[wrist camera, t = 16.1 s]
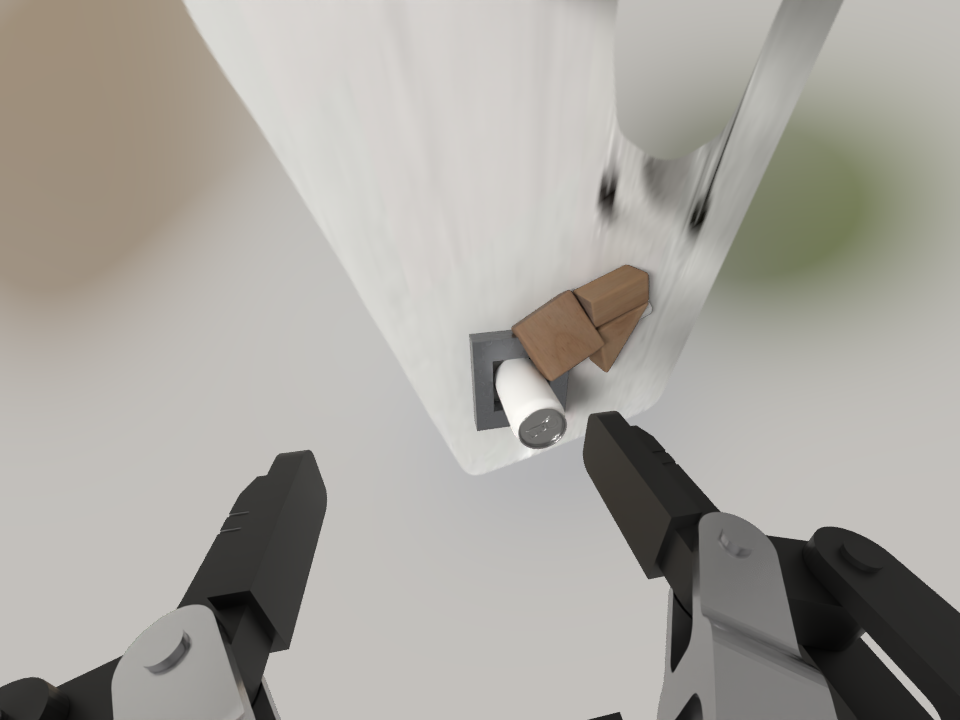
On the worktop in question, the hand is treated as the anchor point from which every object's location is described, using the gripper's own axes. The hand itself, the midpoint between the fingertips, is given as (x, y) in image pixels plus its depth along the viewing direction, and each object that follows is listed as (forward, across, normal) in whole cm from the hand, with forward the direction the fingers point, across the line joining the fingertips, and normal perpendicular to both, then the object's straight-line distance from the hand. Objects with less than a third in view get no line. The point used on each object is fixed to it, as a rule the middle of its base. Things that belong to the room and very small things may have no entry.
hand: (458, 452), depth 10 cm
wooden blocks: (+33, -19, +12) cm, 40 cm away
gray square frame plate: (+32, -11, +18) cm, 39 cm away
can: (+33, -10, +18) cm, 39 cm away
